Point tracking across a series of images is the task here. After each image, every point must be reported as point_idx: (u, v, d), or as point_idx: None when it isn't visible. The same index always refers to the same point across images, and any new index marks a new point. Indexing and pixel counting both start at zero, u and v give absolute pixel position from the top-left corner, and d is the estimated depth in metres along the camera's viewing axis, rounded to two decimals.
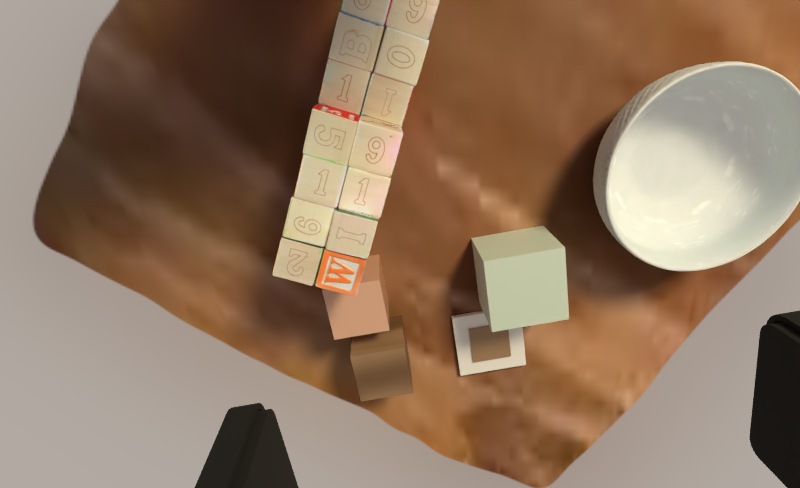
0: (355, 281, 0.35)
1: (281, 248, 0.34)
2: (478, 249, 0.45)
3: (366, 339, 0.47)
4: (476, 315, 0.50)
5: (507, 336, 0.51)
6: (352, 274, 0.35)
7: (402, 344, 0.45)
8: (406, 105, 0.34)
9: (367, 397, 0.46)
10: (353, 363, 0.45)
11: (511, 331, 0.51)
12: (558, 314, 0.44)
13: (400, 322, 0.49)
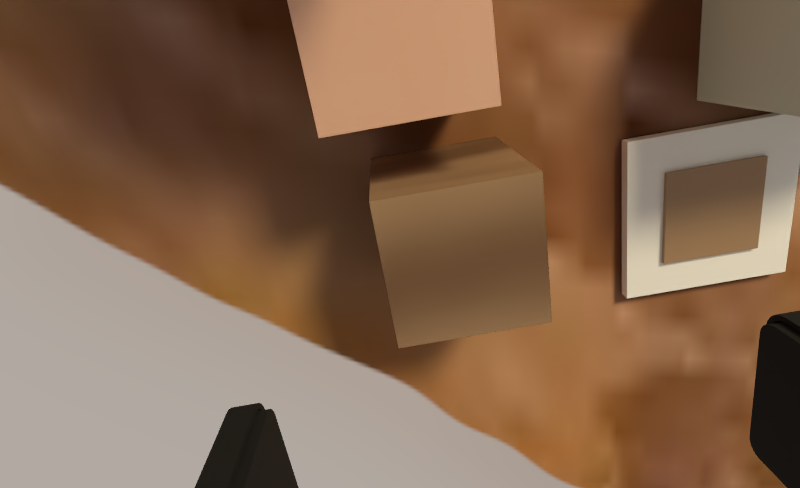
0: None
1: None
2: None
3: (412, 172, 0.16)
4: (691, 133, 0.19)
5: (758, 194, 0.20)
6: None
7: (531, 167, 0.14)
8: None
9: (418, 335, 0.16)
10: (379, 224, 0.14)
11: (769, 181, 0.20)
12: None
13: (499, 143, 0.18)
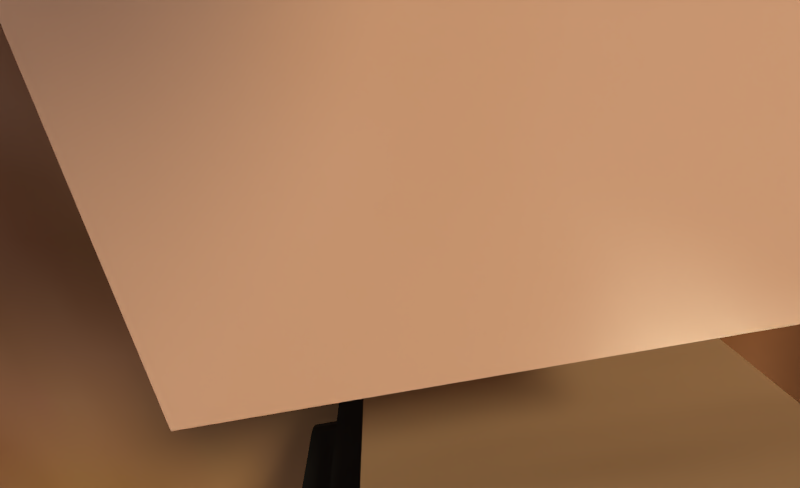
0: None
1: None
2: None
3: (467, 391, 0.07)
4: None
5: None
6: None
7: None
8: None
9: None
10: None
11: None
12: None
13: None
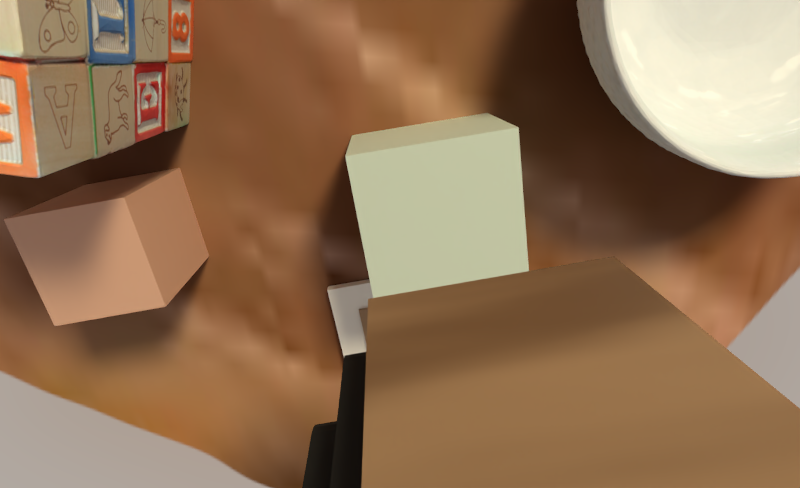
0: (21, 135, 0.13)
1: None
2: (351, 144, 0.22)
3: (468, 395, 0.07)
4: None
5: None
6: (9, 116, 0.13)
7: None
8: None
9: None
10: None
11: None
12: None
13: (641, 287, 0.09)
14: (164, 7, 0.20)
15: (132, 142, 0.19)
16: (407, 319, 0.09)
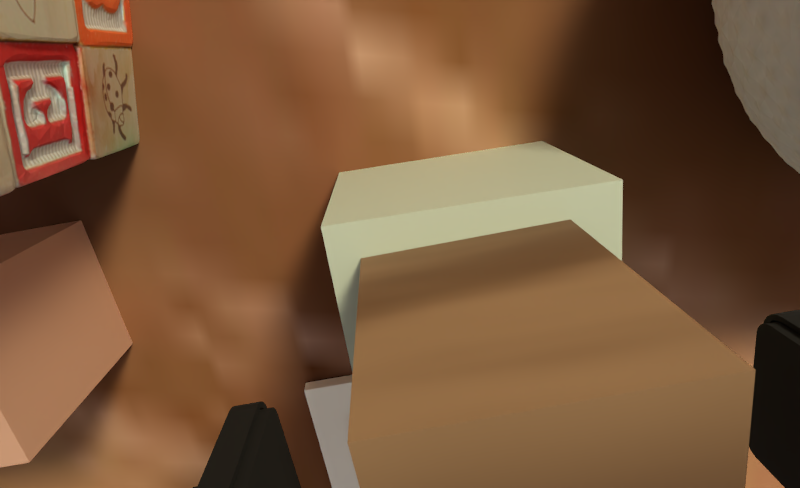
0: None
1: None
2: (335, 195, 0.14)
3: (438, 319, 0.08)
4: None
5: None
6: None
7: (712, 345, 0.06)
8: None
9: None
10: (372, 485, 0.06)
11: None
12: None
13: (587, 240, 0.10)
14: None
15: (9, 187, 0.10)
16: (393, 271, 0.11)
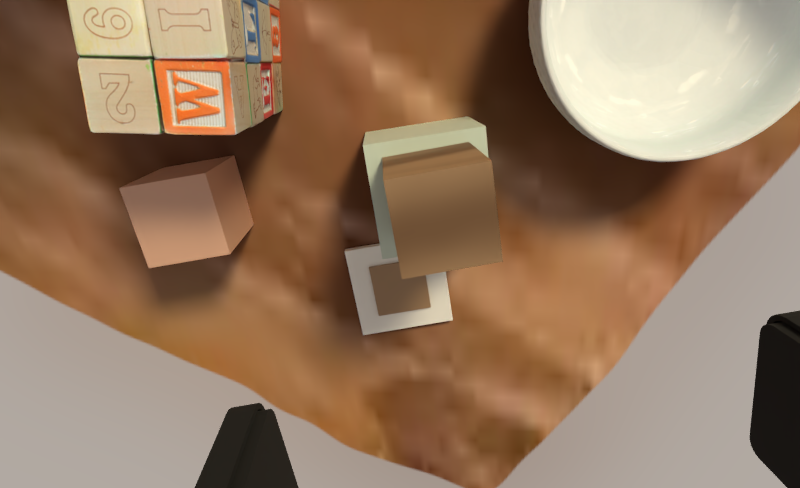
0: (225, 107, 0.21)
1: (84, 78, 0.20)
2: (365, 138, 0.30)
3: (410, 164, 0.25)
4: (378, 247, 0.36)
5: (424, 278, 0.36)
6: (217, 96, 0.21)
7: (485, 159, 0.23)
8: None
9: (414, 270, 0.24)
10: (389, 195, 0.23)
11: None
12: None
13: (470, 145, 0.27)
14: (269, 22, 0.28)
15: (263, 119, 0.27)
16: (395, 158, 0.27)
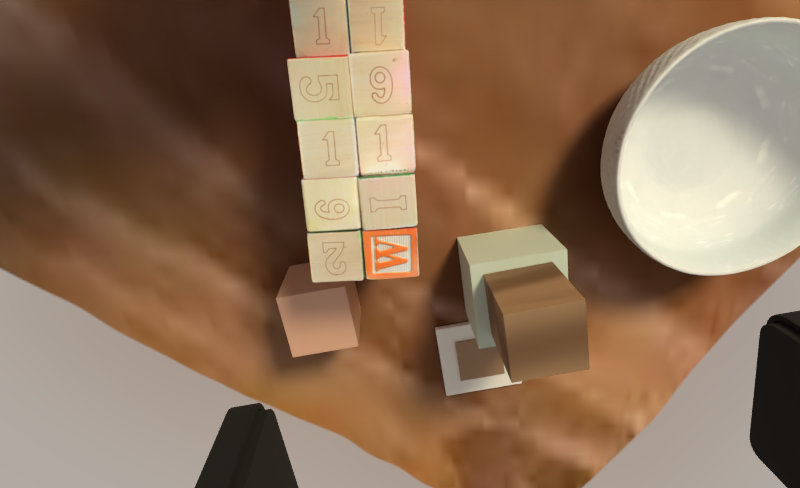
0: (412, 258, 0.28)
1: (311, 246, 0.28)
2: (464, 250, 0.38)
3: (515, 292, 0.32)
4: (463, 326, 0.43)
5: None
6: (406, 251, 0.28)
7: (579, 295, 0.30)
8: (402, 20, 0.26)
9: (522, 376, 0.31)
10: (507, 324, 0.30)
11: None
12: None
13: (556, 269, 0.34)
14: None
15: None
16: (497, 278, 0.34)
